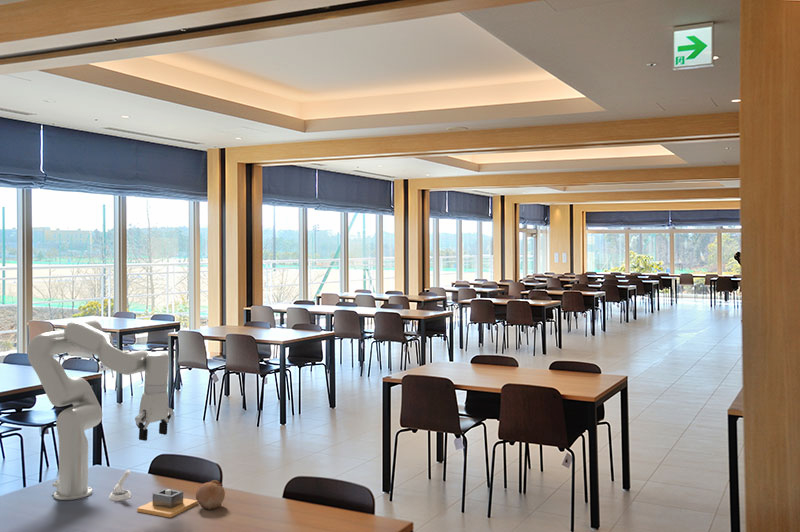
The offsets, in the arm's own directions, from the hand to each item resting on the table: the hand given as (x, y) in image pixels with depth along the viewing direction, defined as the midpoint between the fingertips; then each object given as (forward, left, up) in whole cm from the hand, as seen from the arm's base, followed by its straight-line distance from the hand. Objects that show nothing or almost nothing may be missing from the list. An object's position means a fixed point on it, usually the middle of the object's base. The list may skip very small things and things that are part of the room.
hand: (153, 437), depth 242 cm
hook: (-14, -1, -23) cm, 27 cm away
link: (+9, -3, -22) cm, 24 cm away
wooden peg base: (+9, -3, -23) cm, 25 cm away
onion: (+22, +3, -23) cm, 32 cm away
